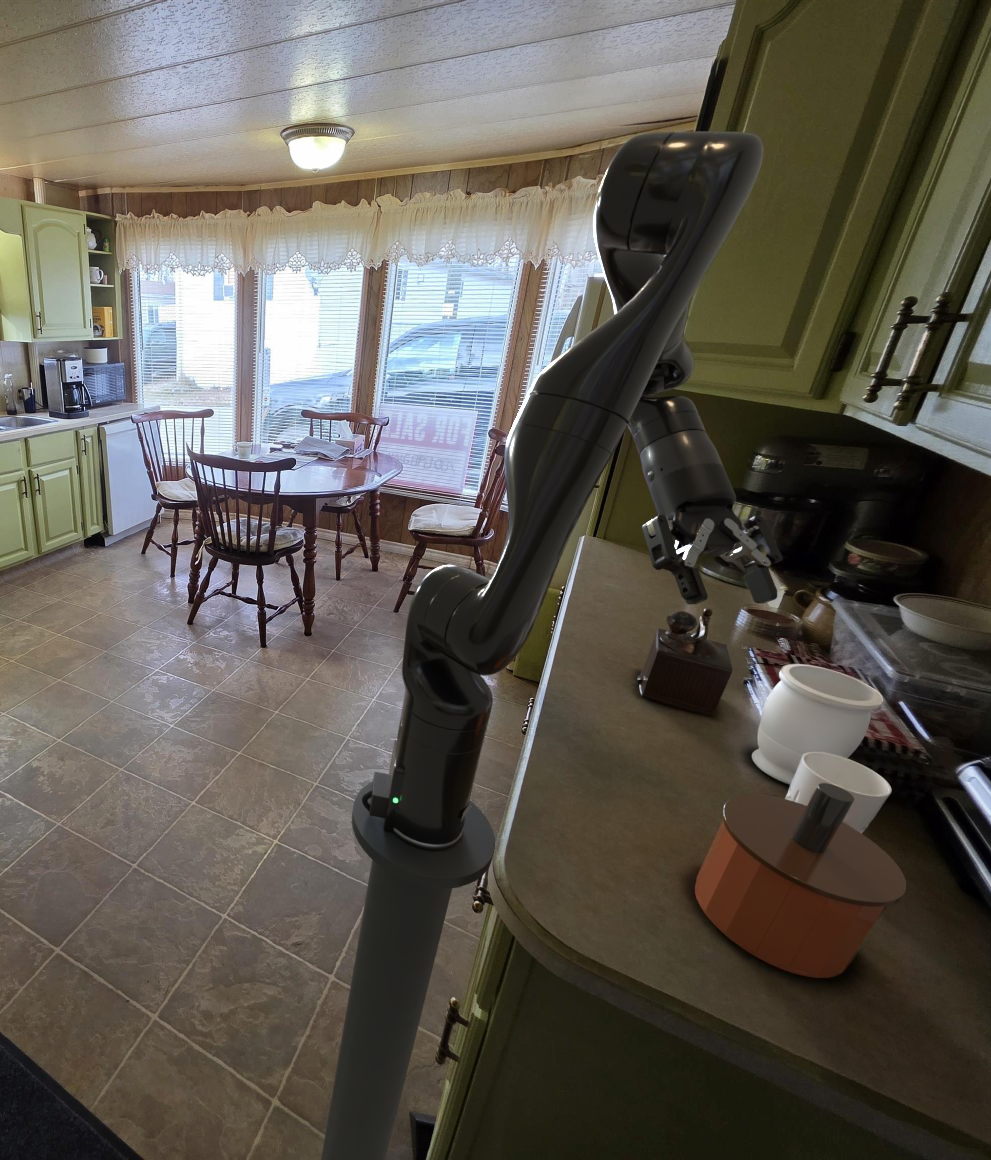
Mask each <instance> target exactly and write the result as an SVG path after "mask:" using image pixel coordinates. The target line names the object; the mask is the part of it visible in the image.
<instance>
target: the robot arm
mask: <svg viewBox="0 0 991 1160" xmlns="http://www.w3.org/2000/svg"><path fill="white" fill-rule="evenodd" d="M764 153H765V150H764V142H763V140H762V139H761V137H760V136H758V134H755V133H751V132H750V133H749V132H746V131H745V132H743V131H711V130H709V131H708V130H707V131H701V130H700V131H698V130H697V131H655V132H654V131H653V132H645V133H641V134H638V135H636V136H633V137H631V138H629V139H628V140H626V141H625V142H624V143H623V144H622V145H621V146H620V147H619V149H618V150H617V152H616V153H615V155H613V158H612V159H611V161H610V163H609V165H608V167H607V169H606V171H605V173H604V175H603V178H602V180H601V182H600V185H599V188H598V192H597V195H596V199H595V203H594V208H593V216H592V228H593V229H592V230H593V238H594V243H595V247H596V251H597V255H598V258H599V261H600V265H601V269H602V273H603V276H604V279H605V282H606V285H607V288H608V290H609V293H610V297H611V301H612V306H613V314H612V316H611V317H609V318H608V319H606V320H605V321H604V322H603V323H601V324H600V325H599V326H597V327H596V328H594V329H593V330H592V331H591V332H589V333H587V335H585V336H583V337H582V338H581V339H580V340H578V341H576V343H574V344H573V345H571V346H570V347H569V348H568V349H566V350H565V351H564V352H563V353H561V354H559V356H557V357H556V358H554V360H552V361H551V362H550V363H549V364H548V365H546V367H545V368H544V369H543V370H542V371H541V372H540V373H539V374H538V375H537V377H536V378H535V379H534V381H533V382H532V384H531V387H529V390H528V392H527V394H526V396H525V399H524V400H523V403H522V405H521V407H520V409H519V411H518V413H517V416H516V418H515V420H514V422H513V424H512V427H511V429H510V431H509V434H508V436H507V439H506V443H505V446H504V447H505V448H504V458H503V459H504V460H503V461H504V462H503V463H504V466H503V467H504V480H505V491H506V501H507V516H508V520H507V521H508V522H507V531H506V537H505V541H504V545H503V548H502V551H501V554H500V557H499V559H498V561H497V564H496V566H495V569H494V570H493V573H492V575H491V577H490V578H488V577H486V576H484V575H483V574H480V573H477V572H475V571H473V570H471V569H468V568H466V567H464V566H462V565H461V566H460V565H456V564H446V565H440V566H438V567H436V568H434V569H432V570H431V571H430V572H429V573H427V574H426V576H425V577H423V579H422V580H421V581H420V583H418V586H417V587H416V589H415V591H414V593H413V596H412V598H411V601H410V605H409V608H408V612H407V613H408V614H407V618H406V625H405V631H404V632H405V634H404V642H403V643H404V645H403V652H402V663H401V678H402V682H403V685H404V695H403V702H402V705H401V706H402V707H401V713H400V719H399V724H398V731H397V736H396V739H394V740H393V741H394V742H393V746H392V751H391V752H392V753H391V759H390V763H389V764H390V765H389V770H388V773H384V772H379V771H373V778H372V781H373V783H372V790H371V791H369V792H367V793H366V794H364V795H363V797H362V803H363V805H364V807H365V808H366V809H367V810H368V811H369V812H370V816H375V817H379V818H384V826H383V830H384V831H385V832H389V833H392V834H394V835H395V836H396V837H397V838H399V839H400V840H402V841H403V842H405V843H407V844H408V845H410V846H413V847H415V848H418V849H422V850H427V851H444V850H447V849H450V848H452V847H454V846H455V845H457V844H458V842H459V841H460V839H461V837H462V833H463V828H464V821H465V817H466V814H467V812H468V811H469V810H470V808H471V806H472V802H473V801H474V799H472V800H470V799H471V796H472V792H473V788H474V784H475V779H476V775H477V771H478V766H479V763H480V758H481V754H482V750H483V745H484V743H485V737H486V734H487V729H488V725H489V720H490V717H491V713H492V708H493V703H494V697H493V693H492V690H491V688H490V686H489V685H488V683H487V681H486V680H485V679H484V678H483V676H484V677H486V676H493V675H495V674H498V673H500V672H502V671H503V670H504V669H506V668H508V666H509V665H510V664H511V663H513V661H514V660H515V659H516V658H517V657H518V655H519V653H520V652H521V650H522V649H523V648H524V647H525V645H526V643H527V641H528V639H529V637H530V634H531V633H532V631H533V629H534V626H535V624H536V621H537V619H538V616H539V615H540V612H541V609H542V606H543V604H544V601H545V599H546V597H547V594H548V591H549V588H550V586H551V584H552V581H553V578H554V576H555V573H556V570H557V568H558V566H559V563H560V561H561V560H562V556H563V554H564V551H565V550H566V546H567V544H568V542H569V541H570V538H571V535H572V533H573V532H574V529H575V527H576V525H577V523H578V521H579V520H580V517H581V515H582V513H583V511H584V509H585V507H586V505H587V503H588V502H589V499H590V497H591V495H592V494H593V491H594V489H595V487H596V486H597V484H598V483H599V480H600V479H601V476H602V474H603V473H604V471H605V469H606V468H607V466H608V464H609V462H610V460H611V459H612V456H613V455H614V453H615V451H616V449H617V448H618V445H619V443H620V441H621V439H622V437H623V435H624V434H625V431H626V430H627V428H628V429H629V431H630V433H631V435H632V439H633V441H634V444H635V447H636V450H637V452H638V456H639V459H640V463H641V468H642V473H643V476H644V479H645V482H646V484H647V488H648V490H649V492H650V496H651V499H652V501H653V504H654V506H655V507H654V508H655V510H656V512H657V516H655V517H654V518H651V520H648V521H647V522H646V523H644V524H642V526H641V529H642V533H643V536H644V540H645V543H646V547H647V550H648V554H649V559H650V561H651V565H652V568H654V569H655V570H656V571H661V570H665V571H668V572H669V574H671V575H673V576H674V579H675V581H676V584H677V587H678V591H679V594H680V596H681V597H682V598H683V600H685V603H686V605H698V604H701V603H702V602H705V601H707V600H708V598H709V596H708V592H707V590H706V587H705V584H704V581H703V579H702V576H701V574H700V571H699V568H698V567H695V566H696V563H697V560H698V559H699V557H702V556H706V555H707V556H710V557H720V558H721V559H722V560H724V562H726V563H732V564H734V565H735V566H736V567H737V568H739V570H741V571H742V572H743V577H744V580H745V583H746V585H747V587H748V590H749V592H750V595H751V598H752V600H753V602H754V603H755V604H757V605H759V604H761V605H762V604H766V603H769V602H772V601H775V600H776V599H777V598H778V588H777V586H776V583H775V582H774V579H773V577H772V575H771V574H772V573H771V572H770V566H773V565H775V564H777V563H779V562H782V561H783V560H784V559H783V558H784V557H783V554H782V552H781V550H780V549H779V547H778V544H777V543H776V540H775V538H774V537H773V534H772V532H771V531H770V528H769V526H768V524H767V522H766V520H765V518H764V517H763V516H761V515H760V514H756V515H754V516H752V517H750V518H747V519H746V518H745V519H740V518H739V517H738V515H736V514H735V512H734V505H735V502H736V501H737V495H736V493H735V490H734V488H733V485H732V484H731V481H730V479H729V476H728V474H727V471H726V469H725V467H724V464H723V462H722V459H721V457H720V455H719V452H718V451H717V448H716V446H715V444H714V443H713V441H712V440H711V438H710V437H709V435H708V433H707V431H706V428H705V424H704V423H703V421H702V418H701V416H700V413H699V410H698V409H697V406H696V405H695V402H694V401H693V400H691V399H690V398H689V397H687V396H684V395H669V396H659V397H658V396H657V397H652V396H655V395H657V394H661V393H665V392H667V391H671V390H674V389H676V388H678V387H681V386H682V385H683V384H685V383H686V382H687V381H688V380H689V379H690V378H691V376H692V375H693V373H694V370H695V356H694V353H693V350H692V348H691V346H690V344H689V343H688V341H687V339H686V337H685V330H686V324H687V319H688V313H689V307H690V301H691V300H692V299H693V297H694V295H695V293H696V292H697V290H698V288H699V286H700V285H701V283H702V281H703V280H704V278H705V276H706V274H707V272H708V271H709V269H710V267H711V266H712V264H713V262H714V260H715V259H716V257H717V256H718V254H719V252H720V250H721V249H722V246H723V245H724V244H725V242H726V240H727V238H728V237H729V235H730V233H731V231H732V230H733V228H734V226H735V224H736V222H737V220H738V219H739V217H740V215H741V214H742V212H743V210H744V208H745V206H746V204H747V202H748V200H749V198H750V195H751V194H752V191H753V189H754V187H755V184H756V183H757V180H758V177H759V174H760V171H761V169H762V165H763V160H764ZM664 256H665V257H664ZM674 540H675V541H674ZM737 544H738V545H740V547H738V548H736V549H735V547H736V546H737ZM762 548H764V551H765V552H766V554H764V553H762V550H761V549H762ZM744 556H746V557H748V558H749V559H751V561H748V560H747V559H746V558H745V557H744ZM369 798H371V802H370V804H369V803H368V799H369ZM469 800H470V801H471V803H470V804H469ZM473 803H474V802H473ZM468 804H469V805H468Z"/></svg>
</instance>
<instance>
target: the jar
mask: <svg viewBox="0 0 991 1160" xmlns="http://www.w3.org/2000/svg"><path fill="white" fill-rule="evenodd" d="M778 676H779V679H780V680H779V681H778V682H777V684H776V685H775V686H774V687H773V689H772V690H771V692H770V693H769V695H768V696H767V699H766V700H765V702H764V704H763V707H762V711H761V715H760V723H759V726H758V730H757V738H756V739H757V745H758V746H757V747H758V748H757V749H755V750H754V751H753V752H752V754H751V760H752V761H753V763H754V764H755V766H756V767H757V768H759V770H761V771H762V772H764V773H765V774H767V775H768V776H770V777H772V778H773V779H775V780H777V781H780V782H782V783H784V784H787V785H789V786H790V785H791V782H792V780H793V778H794V775H795V773H796V770H797V768H798V766H799V763H800V761H801V758H802V756H803V755H804V754H805V753H808V752H824V753H829V754H834V755H838V756H841V757H844V758H847V759H849V757H850V756H851V755H852V754H853V753H854V752H855V751H856V750H857V748H858V747H859V746H860V744H861V743H862V742H863V740H864V738H865V736H866V734H867V732H868V729H869V727H870V723H871V718H872V711H875V710H878V709H879V708H880V707H881V705H882V703H883V702H884V697H883V696H882V694H881V693H880V692H879V691H878V690H876V688H873V687H872V686H870V685H869V684H867V683H866V682H864V681H862V680H860V679H857V678H855V677H853V676H850V675H848V674H845V673H842V672H840V671H837V670H833V669H829V668H825V667H821V666H817V665H811V664H805V663H804V664H803V663H789V664H785V665H783V666H782V667H781V668H780V670H779V673H778Z"/></svg>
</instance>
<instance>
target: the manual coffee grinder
mask: <svg viewBox="0 0 991 1160" xmlns="http://www.w3.org/2000/svg"><path fill="white" fill-rule="evenodd" d="M712 615H713V610H712V609H711V608H704V609H702V615H700V616H699V618H698V620H697V617H695V615H693V613H689V612H687V611H684V610H682V611H672V612H671V613H670V614H669V615H667V617H666V619H665V621H666V623H667V625H668V630H667V629H663V628H658V629H657V630H656V631H655V635H654V637H653V640H652V643H651V645H650V648H649V651H648V654H647V656H646V660H645V663H644V665H643V668H642V669H641V670H640V674H639V675H637V677H636V681H637V683H638V686H639V692H640V695H641V697H642V698H645V699H648V700H651V701H653V702H656V703H659V704H662V705H665V706H669V707H672V708H676V709H679V710H683V711H687V712H690V713H693V714H698V715H703V716H706V717H713V716H714V713H715V711H716V709H717V707H718V705H719V703H720V701H721V699H722V696H723V694H724V693H725V690H726V687H727V684H728V682H729V680H730V678H731V676H732V673H733V665H732V663H731V656H730V653H729V649H728V645H727V644H725V643H721V642H718V641H714V640H710V639H707V638H708V635H709V625H710V621H711V616H712ZM698 621H699V622H698ZM696 627H697V628H696ZM695 628H696V630H695V633H691V632H692V631H693V630H694V629H695Z"/></svg>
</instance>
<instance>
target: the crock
mask: <svg viewBox="0 0 991 1160" xmlns="http://www.w3.org/2000/svg"><path fill="white" fill-rule="evenodd" d="M694 893H695V898H696V900H697V902H698V905H699V907H700V908H701V910H702V912H703V913H704V915H705V916H706V917H707V918H708V920H709V921H710V922H711V923H712V924H713V925H714V926H715V927H716V928H717V930H719V931H720V932H721V933H722V934H723V935H724V936H726V938H728V940H731V942H733V943H734V944H736V945H737V946H738V947H739V948H741V949H743V950H744V951H746V952H747V953H749V954H750V955H752V956H754V957H755V958H757V959H759V960H761V961H763V962H765V963H767V964H769V965H771V966H774V967H776V968H778V969H780V970H783V971H786V972H789V973H791V974H795V975H799V976H802V977H807V978H812V979H813V978H815V979H830V978H834V977H837V976H839V975H841V974H842V973H844V972H845V971H846V969H847V968H848V966H850V965H851V963H852V962H853V960H854V959H855V958H856V956H857V955H858V953H859V951H860V949H861V948H862V946H863V945H864V943H865V942H866V940H867V938H868V937H869V935H870V934H871V933H872V931H873V929H874V927H875V926H876V925H877V923H878V922H879V920H880V918H881V917H882V915H883V914H884V912H885V911H886V909H887V908H888V906H889V905H887V906H879V907H871V906H860V905H855V904H849V903H845V902H841V901H838V900H835V899H831V898H828V897H825V896H823V895H820V894H817V893H815V892H812V891H810V890H808V889H805V888H803V887H801V886H799V885H797V884H795V883H793V882H791V881H789V880H787V879H785V878H783V877H782V876H780V875H778V874H776V873H775V872H773V871H772V870H770V869H769V868H767V867H765V866H764V865H763V864H761V863H760V862H759V861H757V860H756V859H754V858H753V857H752V856H751V855H750V854H748V853H747V852H746V851H745V850H744V849H743V848H742V847H741V846H740V845H739V844H738V843H737V842H736V841H735V840H734V839H733V838H732V836H731V835H730V834H729V832H728V831H727V829H726V827H725V825H724V823H723V820H722V821H721V823H720V826H719V828H718V830H717V832H716V835H715V836H714V838H713V841H712V843H711V845H710V847H709V849H708V851H707V854H706V856H705V858H704V859H703V863H702V865H701V867H700V869H699V871H698V874H697V875H696V881H695V884H694Z"/></svg>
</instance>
